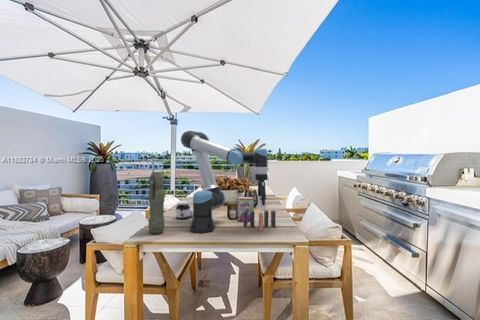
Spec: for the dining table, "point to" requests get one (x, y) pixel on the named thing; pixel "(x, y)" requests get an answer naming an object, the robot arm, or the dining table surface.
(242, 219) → the candy bar box
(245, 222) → the domino
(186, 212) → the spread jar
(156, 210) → the thermos
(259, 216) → the domino
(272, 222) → the domino
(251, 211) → the domino
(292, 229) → the dining table surface
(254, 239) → the dining table surface
